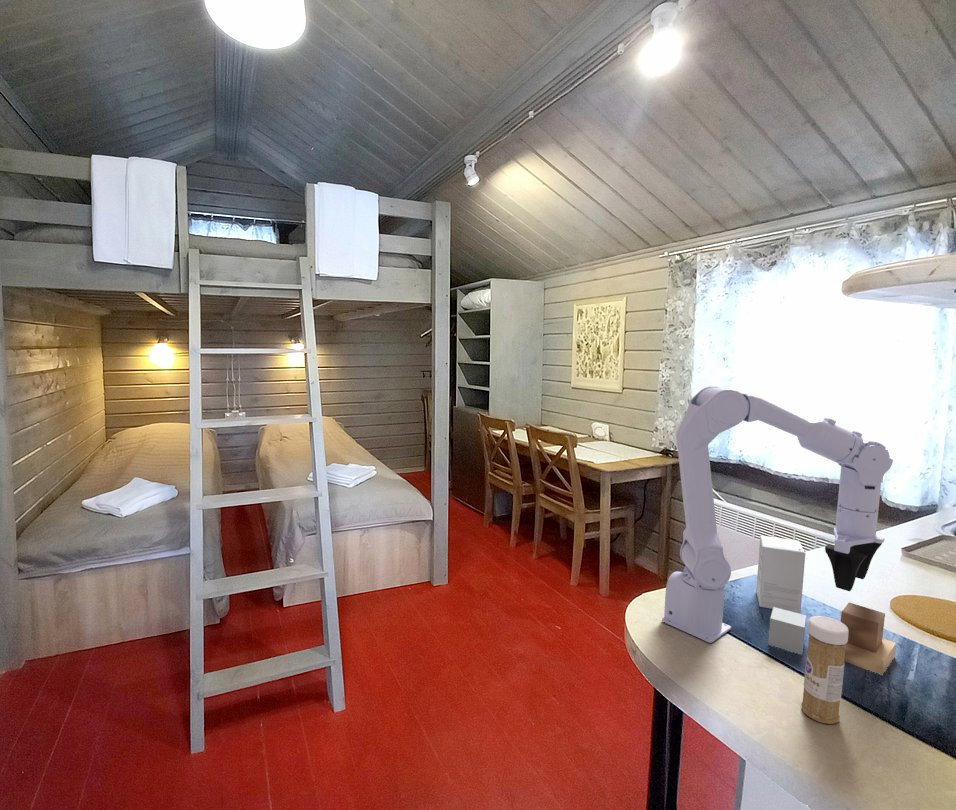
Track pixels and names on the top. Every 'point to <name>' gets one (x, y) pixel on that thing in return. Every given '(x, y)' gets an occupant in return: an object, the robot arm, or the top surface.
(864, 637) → the walnut cube
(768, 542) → the supplement box
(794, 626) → the light grey cube
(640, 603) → the top surface
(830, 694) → the toothpick jar
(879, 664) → the oak base block
